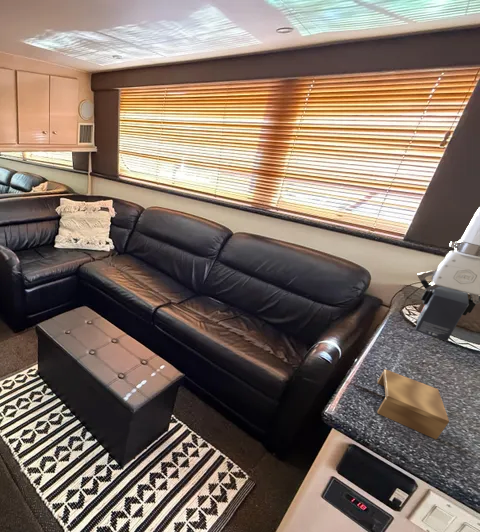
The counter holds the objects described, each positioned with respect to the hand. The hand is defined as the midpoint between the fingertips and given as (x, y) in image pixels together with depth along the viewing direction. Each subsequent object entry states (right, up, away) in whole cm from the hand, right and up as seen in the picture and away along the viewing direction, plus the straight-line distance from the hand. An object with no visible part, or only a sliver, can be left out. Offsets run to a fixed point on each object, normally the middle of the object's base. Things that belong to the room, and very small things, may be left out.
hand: (443, 307), depth 92 cm
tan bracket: (-19, -26, -7) cm, 33 cm away
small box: (-1, -7, +3) cm, 8 cm away
